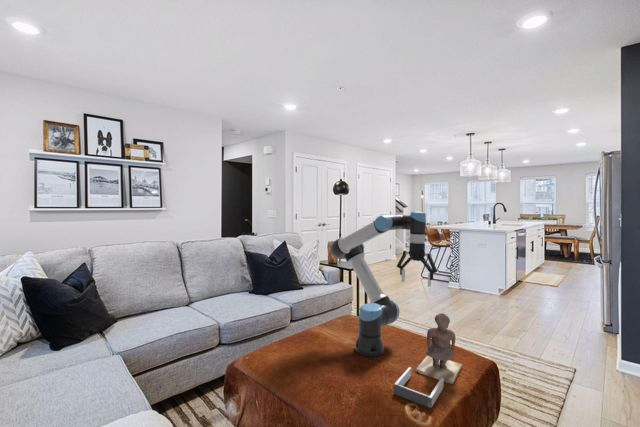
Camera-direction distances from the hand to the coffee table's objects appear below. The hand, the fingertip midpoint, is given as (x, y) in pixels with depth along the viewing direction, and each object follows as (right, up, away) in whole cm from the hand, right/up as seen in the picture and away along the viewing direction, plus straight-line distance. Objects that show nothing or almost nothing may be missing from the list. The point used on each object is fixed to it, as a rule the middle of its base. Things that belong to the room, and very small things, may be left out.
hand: (415, 283), depth 162 cm
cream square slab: (+7, -37, -13) cm, 40 cm away
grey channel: (-7, -38, -30) cm, 49 cm away
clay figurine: (+7, -36, -13) cm, 39 cm away
